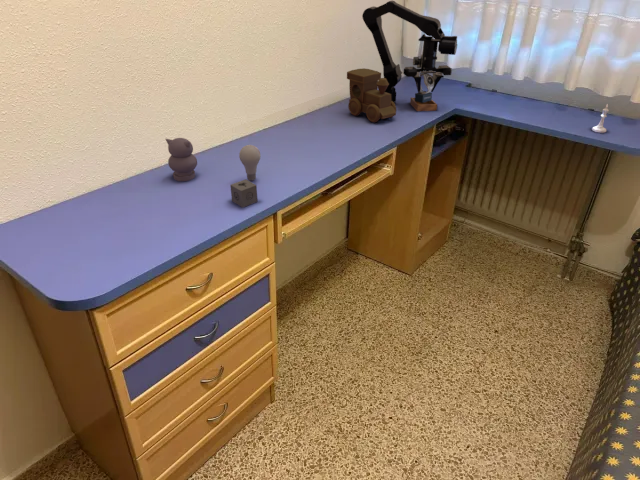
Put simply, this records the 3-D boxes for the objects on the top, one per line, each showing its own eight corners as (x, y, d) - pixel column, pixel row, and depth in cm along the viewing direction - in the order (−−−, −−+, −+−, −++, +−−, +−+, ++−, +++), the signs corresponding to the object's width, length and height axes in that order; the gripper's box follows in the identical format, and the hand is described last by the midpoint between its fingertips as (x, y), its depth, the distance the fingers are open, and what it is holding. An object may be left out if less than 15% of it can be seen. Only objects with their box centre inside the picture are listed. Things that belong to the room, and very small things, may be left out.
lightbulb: (244, 186, 140) (241, 150, 135) (239, 178, 145) (235, 143, 139) (264, 183, 143) (262, 147, 137) (258, 175, 147) (256, 140, 141)
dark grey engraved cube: (246, 195, 136) (245, 179, 133) (257, 201, 133) (256, 185, 130) (232, 201, 133) (230, 184, 130) (242, 207, 130) (241, 190, 127)
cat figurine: (203, 172, 148) (198, 135, 142) (192, 183, 142) (186, 144, 135) (178, 169, 150) (172, 132, 143) (165, 180, 143) (158, 142, 137)
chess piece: (592, 131, 182) (600, 105, 177) (591, 127, 186) (599, 101, 181) (606, 133, 181) (615, 106, 175) (605, 129, 185) (614, 103, 179)
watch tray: (417, 111, 201) (417, 104, 200) (409, 103, 210) (410, 97, 209) (436, 110, 202) (437, 104, 201) (428, 103, 211) (429, 97, 210)
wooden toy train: (343, 113, 198) (344, 71, 190) (363, 107, 205) (365, 67, 196) (378, 125, 186) (381, 81, 177) (398, 119, 192) (402, 77, 183)
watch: (426, 103, 201) (428, 76, 195) (411, 100, 206) (413, 73, 200) (435, 101, 203) (437, 74, 198) (420, 97, 209) (422, 71, 203)
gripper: (444, 48, 202) (440, 86, 211) (401, 49, 200) (398, 88, 209) (454, 53, 193) (449, 93, 201) (409, 55, 191) (405, 95, 199)
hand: (425, 92), depth 203 cm, fingers closed on watch, 5 cm apart
